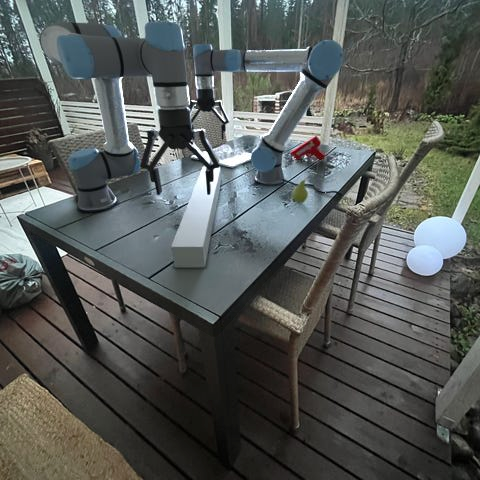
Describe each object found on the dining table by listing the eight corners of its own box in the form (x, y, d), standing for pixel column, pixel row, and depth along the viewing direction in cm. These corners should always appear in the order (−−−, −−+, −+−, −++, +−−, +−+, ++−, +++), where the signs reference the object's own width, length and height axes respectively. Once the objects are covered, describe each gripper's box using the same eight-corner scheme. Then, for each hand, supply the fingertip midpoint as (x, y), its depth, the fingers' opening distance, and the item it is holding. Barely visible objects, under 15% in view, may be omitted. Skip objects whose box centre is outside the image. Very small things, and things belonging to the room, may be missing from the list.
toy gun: (328, 155, 171) (316, 134, 167) (328, 157, 168) (316, 136, 164) (303, 170, 181) (291, 151, 177) (303, 172, 178) (290, 152, 174)
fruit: (288, 200, 123) (290, 174, 116) (302, 197, 125) (305, 172, 119) (296, 206, 118) (299, 179, 111) (310, 203, 120) (314, 177, 114)
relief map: (232, 167, 162) (232, 159, 160) (191, 158, 180) (190, 150, 177) (257, 157, 181) (258, 149, 178) (218, 149, 198) (217, 142, 196)
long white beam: (203, 180, 145) (202, 166, 141) (221, 180, 145) (220, 166, 141) (174, 267, 83) (171, 246, 78) (204, 267, 82) (202, 246, 78)
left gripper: (113, 109, 60) (134, 198, 71) (226, 109, 60) (229, 198, 71) (125, 105, 66) (143, 187, 78) (227, 105, 66) (230, 187, 77)
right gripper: (174, 88, 114) (180, 141, 126) (233, 88, 114) (234, 140, 126) (178, 87, 121) (183, 137, 132) (234, 87, 120) (234, 137, 132)
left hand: (184, 193), depth 74 cm, fingers open, 13 cm apart
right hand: (208, 139), depth 129 cm, fingers open, 13 cm apart
